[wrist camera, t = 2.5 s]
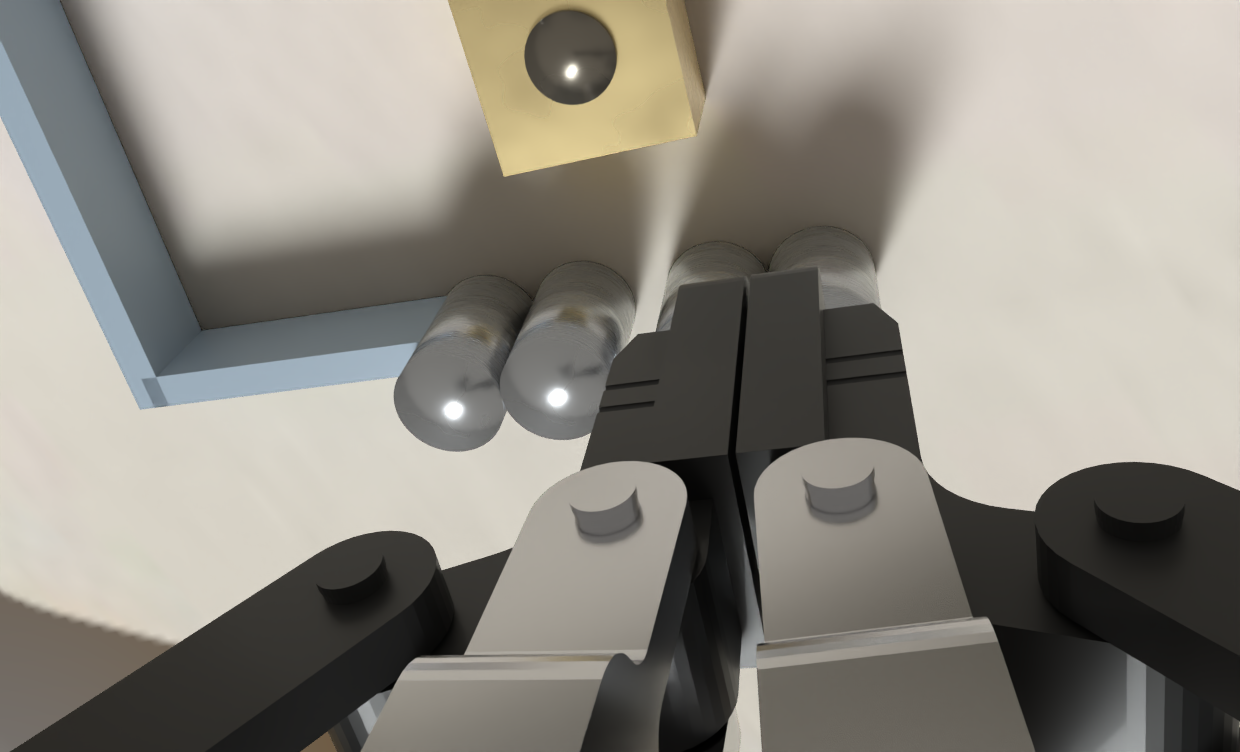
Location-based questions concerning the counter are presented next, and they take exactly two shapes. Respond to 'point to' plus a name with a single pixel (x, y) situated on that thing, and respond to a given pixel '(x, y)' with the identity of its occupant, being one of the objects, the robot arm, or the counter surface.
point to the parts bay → (160, 247)
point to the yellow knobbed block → (580, 76)
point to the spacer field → (574, 338)
